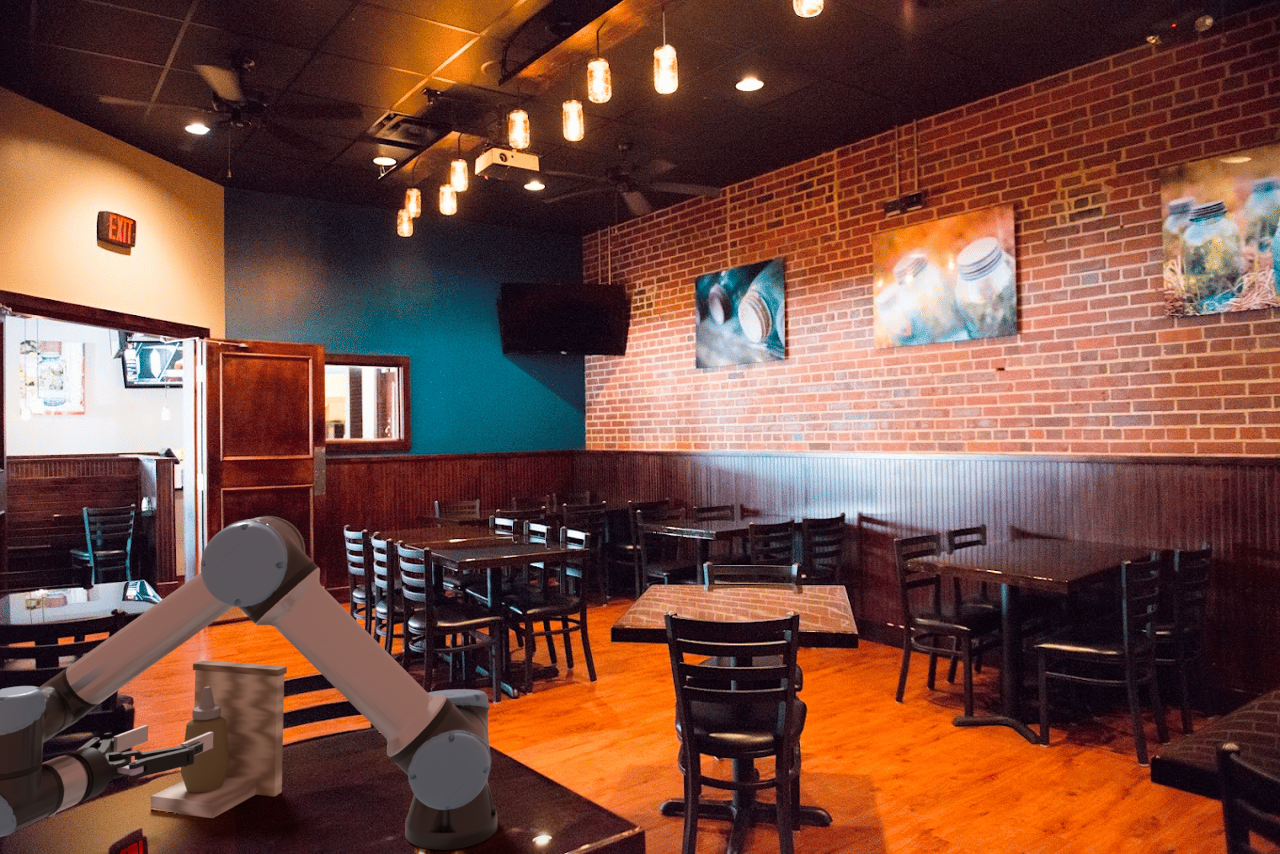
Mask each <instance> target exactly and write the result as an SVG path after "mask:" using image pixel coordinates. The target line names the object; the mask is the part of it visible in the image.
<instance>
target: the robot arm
mask: <svg viewBox="0 0 1280 854" xmlns="http://www.w3.org/2000/svg"><path fill="white" fill-rule="evenodd" d="M320 575H321V569H320V567H319V566H318V565H317V564H316V563H315V562H314V561H313V560H312V559H311V558H310V557H309V556H308V555H307V554H306V545H305V541H304V538H303V536H302V534H301V533H300V531H299V529H298V528H297V527H296V526H294V525H293V524H292V523H291V522H290V521H288V520H286V519H283V518H281V517H278V516H272V515H265V516H258V517H254V518H250V519H243V520H238V521H235V522H233V523H230V524H228V525H227V526H226V527H225V528H223V529H222V530H220V531H218V532H217V533H216V534H215V535H214V536H213V537H212V538H211V539H210V540H209V542H208V543H207V545H206V546H205V549H204V550H203V552H202V555H201V561H200V572H199V573H198V574H197V575H195V576H193V577H192V578H191V579H190V580H188V581H187V582H185V583H183V584H182V585H181V586H179V587H178V588H177V589H176V590H174V591H172V592H171V593H170V594H168V595H167V596H165V598H163V599H161V600H159V602H157V603H156V604H155V605H153V606H152V607H150V608H149V609H148V610H146V611H144V612H143V613H142V614H140V615H139V616H138V617H137V618H135V619H133V620H132V621H131V622H129V623H128V624H126V625H125V626H124V627H123V628H121V629H119V630H118V631H116V632H115V633H114V634H113V635H111V636H110V637H109V638H107V639H105V640H104V641H103V642H101V643H100V644H98V645H97V646H96V647H95V648H92V649H91V650H90V651H88V652H87V653H86V654H84V655H83V656H82V657H80V658H78V659H77V660H76V661H75V662H73V663H72V664H70V665H69V666H67V667H66V668H64V669H63V670H62V671H60V672H59V673H57V674H56V675H55V676H53V677H52V678H50V679H48V680H47V681H46V682H44V683H43V684H42V685H41V686H34V685H20V686H12V687H11V686H10V687H5V688H1V689H0V838H2V837H6V836H10V835H12V834H13V833H14V832H17V831H18V830H21V829H23V828H25V827H27V826H30V825H32V824H34V823H36V822H39V821H40V820H43V819H45V818H53V817H55V816H56V814H57V813H60V812H62V811H63V810H66V809H68V808H71V807H73V806H74V805H76V804H81V803H83V802H85V801H87V800H90V799H93V798H94V797H97V796H98V795H100V794H101V793H103V792H104V791H105V789H106V788H107V786H108V785H109V784H110V782H111V781H113V780H118V779H121V778H123V777H127V776H128V781H136V780H138V779H141V778H143V777H146V776H150V775H154V774H159V773H162V772H166V771H170V770H171V771H172V770H174V769H178V768H181V767H183V766H184V767H186V766H188V765H191V764H194V756H196V755H198V754H200V753H202V752H205V751H207V750H209V749H212V748H213V732H208V733H205V734H203V735H200V736H198V737H196V738H193V739H191V740H188V741H186V742H182V743H180V745H179V746H172V747H166V748H161V749H154V750H148V751H144V752H142V751H141V750H139V749H136V750H128V749H131V748H133V747H136V746H138V745H141V744H144V743H146V742H148V741H149V725H147V724H144V725H142V726H139V727H136V728H133V729H131V730H128V731H125V732H122V733H119V734H117V735H114V736H113V733H112V732H106V733H103V739H102V740H101V738H100V737H98V736H97V737H95V736H94V737H92V738H91V739H90V740H88V741H87V742H86V743H84V744H83V745H82V746H81V747H79V748H78V749H77V750H75V751H72V752H69V753H67V754H66V753H65V754H64V755H60V756H57V757H54V758H52V759H49V760H47V761H44V762H43V755H44V754H43V753H44V752H43V751H44V743H45V742H47V741H49V740H50V739H52V738H53V737H55V736H56V735H57V734H59V733H61V732H62V731H64V730H65V729H67V728H68V727H72V726H73V725H74V724H75V723H77V722H79V721H80V720H82V719H83V718H84V717H85V716H86V715H87V714H89V713H90V711H93V709H94V708H96V707H98V706H99V705H100V704H101V703H102V702H104V701H106V700H107V699H108V698H109V697H111V696H112V695H113V694H115V693H116V692H118V691H119V690H121V689H122V688H124V687H125V686H126V685H128V684H129V683H130V682H132V681H133V680H134V679H136V678H137V677H139V676H140V675H141V674H143V673H144V672H146V671H147V670H148V669H150V668H151V667H152V666H154V665H155V664H157V663H158V662H160V661H161V660H162V659H164V658H166V656H167V655H169V654H170V653H172V652H173V651H175V650H176V649H178V648H179V647H181V646H182V645H183V644H185V643H186V642H187V641H189V640H190V639H191V638H193V637H194V636H196V635H197V634H198V633H200V632H201V631H202V630H204V629H205V628H207V627H208V626H209V625H211V624H213V622H215V621H217V620H218V619H219V618H221V617H222V616H223V615H225V614H226V613H228V611H230V610H232V609H233V608H234V607H236V608H237V607H238V609H240V610H241V612H242V613H244V614H245V616H246V617H247V618H249V619H250V620H251V621H252V623H254V625H256V626H271V627H273V628H275V629H276V630H277V631H278V632H279V633H280V634H281V635H282V636H283V637H284V638H285V639H286V640H287V641H288V642H289V643H290V644H291V645H292V646H293V647H294V648H295V649H296V650H297V651H298V652H299V653H300V654H301V655H302V657H304V658H305V659H306V660H307V661H308V662H309V663H310V664H311V665H312V666H313V667H314V668H315V669H316V670H317V671H318V672H319V673H320V674H321V675H322V676H324V678H325V679H326V680H327V681H328V682H329V683H330V684H331V685H332V686H333V687H334V689H335V688H336V690H337V691H338V692H339V693H340V694H341V695H342V696H343V697H344V698H345V699H346V700H347V701H348V702H349V703H350V704H351V705H352V706H353V707H354V708H355V709H356V710H357V711H358V712H359V713H360V714H361V715H362V716H363V717H364V718H365V719H366V720H367V721H368V722H370V724H371V725H372V726H373V727H374V728H375V729H376V730H377V731H378V732H379V733H380V734H381V735H382V736H383V737H384V738H385V739H386V741H387V743H386V744H387V746H386V755H387V756H388V757H389V758H390V760H391V761H393V762H394V763H395V765H396V766H397V767H399V769H401V771H402V772H403V773H404V774H406V776H408V779H407V780H408V784H409V786H410V788H411V790H412V792H413V797H412V800H411V802H410V803H411V804H410V806H409V810H408V813H407V816H406V817H405V823H404V825H405V826H404V827H405V829H404V831H405V832H404V836H405V839H406V840H407V841H408V842H409V843H410V844H412V845H413V846H416V847H418V848H421V849H422V848H423V849H426V850H427V849H428V850H434V851H435V850H437V851H438V850H439V851H448V850H457V849H464V848H468V847H471V846H476V845H478V844H481V843H482V842H484V841H485V842H486V840H489V839H490V838H491V837H492V836H494V835H495V833H496V832H497V829H498V811H497V808H496V804H495V801H494V799H493V795H492V791H491V789H490V785H489V782H488V779H489V775H490V772H491V768H492V755H491V750H490V748H491V747H490V740H489V710H490V705H489V697H488V694H487V693H486V692H485V691H482V690H478V689H470V688H469V689H463V688H462V689H459V688H458V689H443V690H435V691H430V692H427V691H426V690H425V689H424V687H423V686H421V685H420V684H419V682H417V680H415V678H414V677H413V676H411V675H410V673H409V672H407V670H406V669H404V667H403V666H402V665H400V663H398V661H396V660H395V658H393V657H392V655H390V653H389V652H388V651H387V650H386V649H385V648H384V647H382V645H381V643H379V642H378V641H377V640H376V639H375V638H374V637H373V636H372V635H371V633H369V632H368V631H367V630H366V629H365V628H364V627H363V626H362V625H361V624H360V623H359V622H358V621H357V620H356V619H355V618H354V617H353V616H352V615H351V614H350V612H348V611H347V610H346V609H345V608H344V606H343V605H341V603H339V602H338V601H337V599H336V598H334V597H333V595H332V594H331V593H329V592H328V590H326V588H324V587H323V585H322V584H321V581H320V577H321V576H320ZM126 750H128V751H126ZM123 751H124V752H123ZM132 757H134V760H133V761H132Z"/></svg>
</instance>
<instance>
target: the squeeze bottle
mask: <svg viewBox="0 0 1280 854" xmlns="http://www.w3.org/2000/svg"><path fill="white" fill-rule="evenodd" d="M220 715H221V706H220V705H216V704H215V703H214V699H213V694H212V689H211V687H204V689H203V693H202V697H201V701H200V705H199V706H198V707H195V708H192V715H191V716H192V719H190V720H189V721H188V722H187V723H186V724H185V725H186V727H185V734H184V740H183V741H184V742H186V741H188V740H191V739H193V738H196V737H198V736H200V735H203V734H205V733H208V732H213V748H212V749H209V750H207V751H205V752H202V753H200V754H198V755H196V756H194V764H191V765H188V766H186V767H184V766H183V767H180V769H179V771H180V774H181V778H182V781H184V784H185V787H186V789H187V791H189V792H193V793H201V792H208V791H212V790H215V789H218V788H220V787H221V786H222V785H223V782H224V779H225V777H226V774H227V771H228V768H229V765H230V760H229V748H228V736H227V724H226V719H225V718H223V717H221V716H220Z"/></svg>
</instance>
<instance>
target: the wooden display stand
mask: <svg viewBox="0 0 1280 854" xmlns="http://www.w3.org/2000/svg"><path fill="white" fill-rule="evenodd" d="M287 668H288V667H287V666H285V665H284V666H282V665H272V664H271V665H267V664H255V663H242V662H241V663H239V662H229V661H215V660H200V661H196V662H194V663H192V671H194V703H193V704H194V705H193V706H194V708H195V707H198V706H199V705H200V701H201V697H202V693H203V689H204V687H211V689H212V694H213V699H214V703H215V704H216V705H220V706H221V715H220V716H221V717H223V718H225V719H226V724H227V736H228V748H229V760H230V765H229V768H228V771H227V774H226V777H225V779H224V782H223V785H222V786H221V787H220V788H218V789H215V790H212V791H208V792H201V793H193V792H189V791H187V789H186V787H185V784H184V781H183V780H182V781H179V782H178V783H176V784H173V785H171V786H169V787H167V788H165V789H163V790H161V791H158V792H156V793H155V794H152V795H150V809H151V808H156V809H161V810H165V811H169V812H174V813H173V814H176V813H178V815H183V816H193V817H200V818H209V819H214V818H215V817H218V816H220V815H221V814H223V813H225V812H227V811H229V810H230V809H232V808H234V807H235V806H237V805H239V804H241V803H243V802H245V801H247V800H248V799H250V798H252V797H254V796H255V795H259V796H266V797H276V796H278V795H279V794H281V793H282V791H283V788H282V787H283V755H284V753H283V749H284V748H283V746H284V745H283V743H284V742H283V739H284V708H285V707H284V706H285V705H284V701H285V697H284V695H285V674H288V669H287ZM282 794H283V793H282Z"/></svg>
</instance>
